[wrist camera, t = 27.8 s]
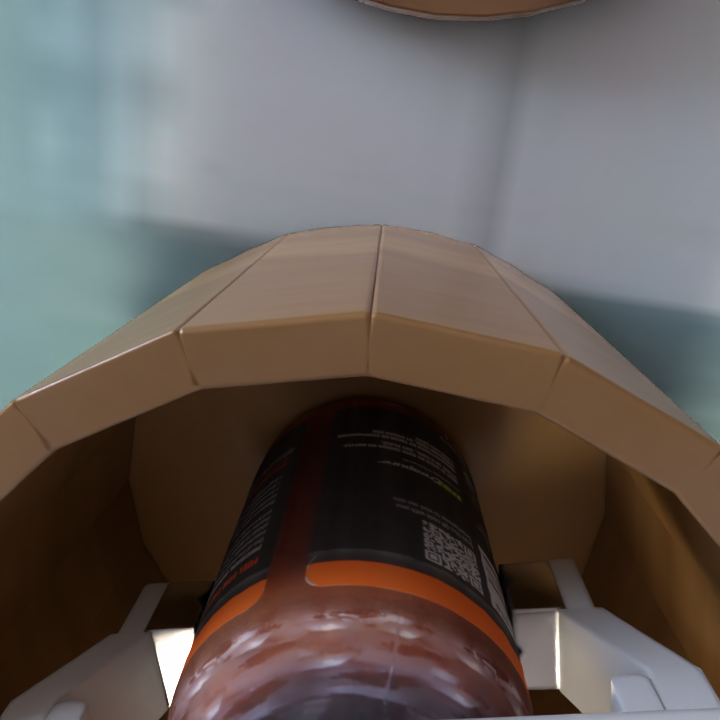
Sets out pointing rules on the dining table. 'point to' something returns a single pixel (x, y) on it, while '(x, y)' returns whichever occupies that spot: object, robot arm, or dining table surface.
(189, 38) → the dining table surface
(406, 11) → the lid
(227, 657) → the supplement bottle
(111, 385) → the round wooden box
